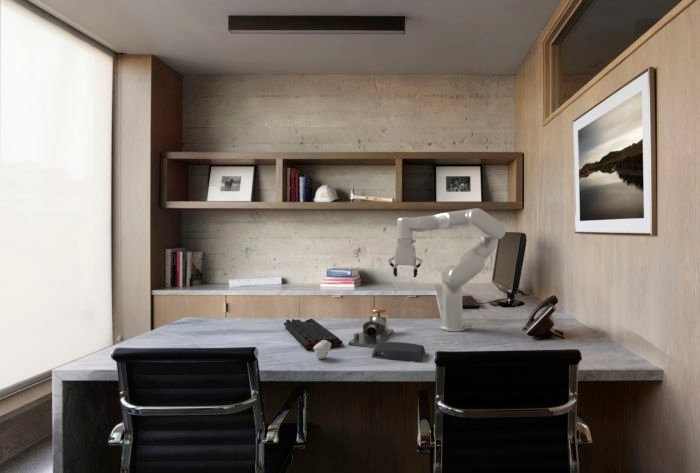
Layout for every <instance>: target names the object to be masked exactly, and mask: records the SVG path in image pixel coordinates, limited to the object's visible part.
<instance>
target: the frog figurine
mask: <svg viewBox="0 0 700 473" xmlns="http://www.w3.org/2000/svg"><path fill="white" fill-rule="evenodd" d="M330 347H331V343H330V342H328V341H326V340H322V341H321V342H319V343H318V344H316V345H315V346H314V348H313V349H314V350H313V351H314V355H315V357H317V358H318V359H320V360H323V359H326V358H327V356H328V355H329V351H330V350H331V348H330Z"/></svg>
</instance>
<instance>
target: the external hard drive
mask: <svg viewBox="0 0 700 473" xmlns="http://www.w3.org/2000/svg"><path fill="white" fill-rule="evenodd" d="M425 355H426V349H425V347H424V345H421V344H417V343H410V342H401V341H384V342H380V343H379V344H378V345H377V347H376V348H374V349H373V351H372V353H371V358H372V359H380V360H389V361H390V360H391V361H400V362H410V361H414V362H413V363H422V362H423V359H424V358H423V357H425Z"/></svg>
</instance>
